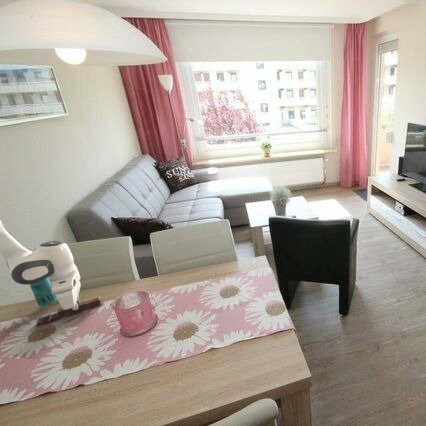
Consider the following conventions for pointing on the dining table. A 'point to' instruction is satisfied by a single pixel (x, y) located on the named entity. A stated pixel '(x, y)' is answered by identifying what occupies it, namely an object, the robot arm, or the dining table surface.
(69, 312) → the brown long bar
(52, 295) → the beverage bottle
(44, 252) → the robot arm
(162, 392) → the dining table surface
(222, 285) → the dining table surface
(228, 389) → the dining table surface
